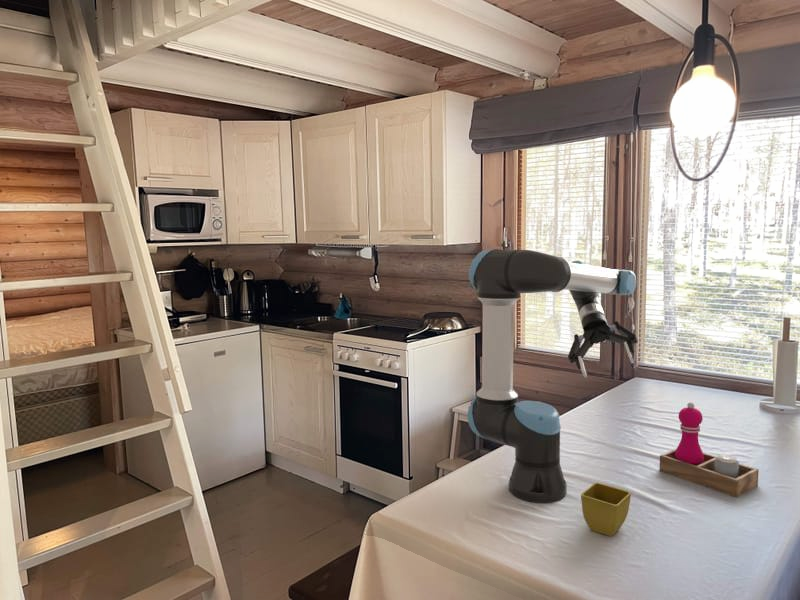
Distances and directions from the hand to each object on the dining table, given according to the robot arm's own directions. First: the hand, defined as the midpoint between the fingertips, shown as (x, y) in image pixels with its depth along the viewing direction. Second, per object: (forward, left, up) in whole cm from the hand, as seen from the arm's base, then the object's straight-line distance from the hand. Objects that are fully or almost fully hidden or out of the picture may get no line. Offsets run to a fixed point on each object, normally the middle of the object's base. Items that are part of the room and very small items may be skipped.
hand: (607, 367), depth 171 cm
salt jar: (+13, -28, -29) cm, 42 cm away
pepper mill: (+13, -18, -29) cm, 36 cm away
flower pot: (-30, -22, -30) cm, 48 cm away
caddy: (+13, -23, -30) cm, 40 cm away
